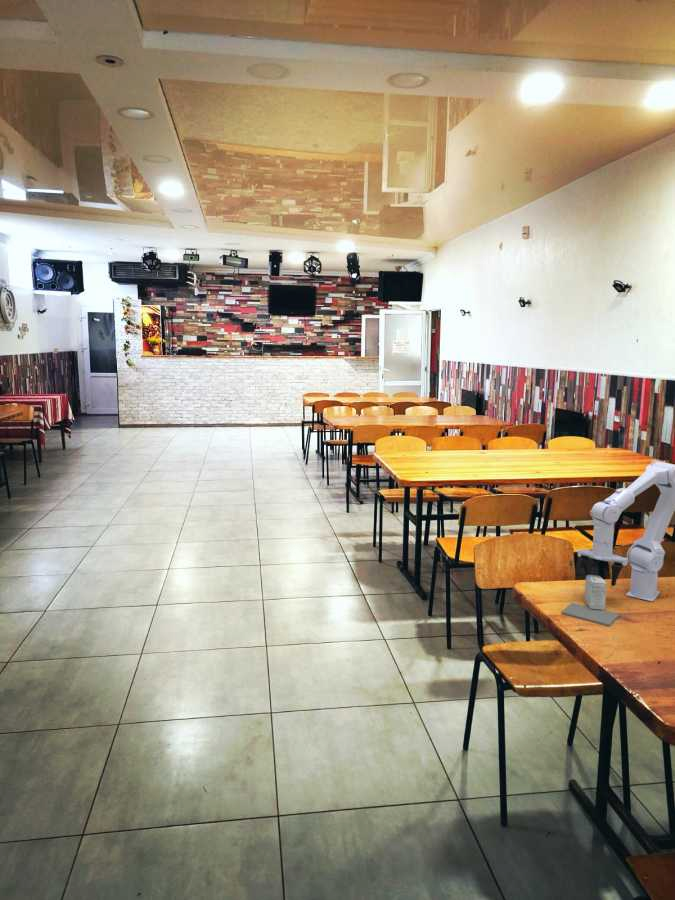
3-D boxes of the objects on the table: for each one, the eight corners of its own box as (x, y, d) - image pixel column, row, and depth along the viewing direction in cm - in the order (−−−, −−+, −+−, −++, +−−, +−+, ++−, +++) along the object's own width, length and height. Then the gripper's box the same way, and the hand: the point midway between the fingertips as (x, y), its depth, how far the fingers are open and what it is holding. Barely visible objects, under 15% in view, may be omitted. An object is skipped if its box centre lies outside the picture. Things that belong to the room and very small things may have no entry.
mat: (571, 604, 188) (571, 602, 188) (618, 616, 179) (619, 614, 178) (561, 613, 181) (561, 611, 181) (609, 626, 172) (609, 624, 172)
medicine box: (605, 610, 181) (607, 583, 180) (589, 609, 182) (591, 581, 181) (598, 602, 189) (600, 575, 188) (583, 600, 190) (585, 574, 189)
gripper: (575, 539, 188) (573, 580, 190) (623, 548, 179) (621, 591, 181) (582, 534, 194) (580, 574, 196) (630, 542, 184) (628, 584, 186)
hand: (600, 582), depth 189 cm, fingers open, 7 cm apart
